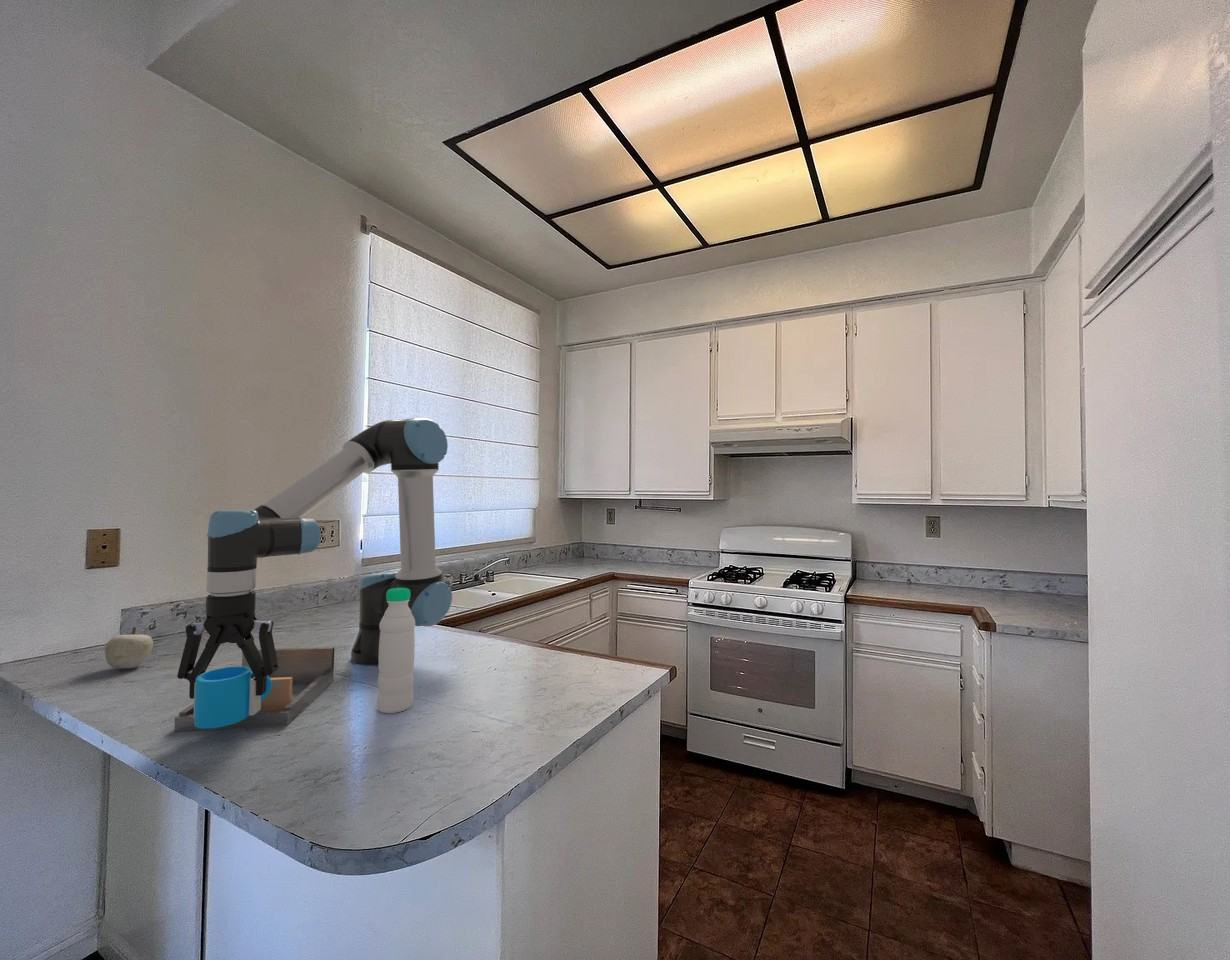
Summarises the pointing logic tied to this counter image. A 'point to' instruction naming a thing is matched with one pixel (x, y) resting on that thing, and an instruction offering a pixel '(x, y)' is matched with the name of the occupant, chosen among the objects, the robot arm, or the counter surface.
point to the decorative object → (128, 650)
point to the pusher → (278, 694)
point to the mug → (223, 696)
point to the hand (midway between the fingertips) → (227, 713)
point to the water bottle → (396, 654)
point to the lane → (291, 663)
